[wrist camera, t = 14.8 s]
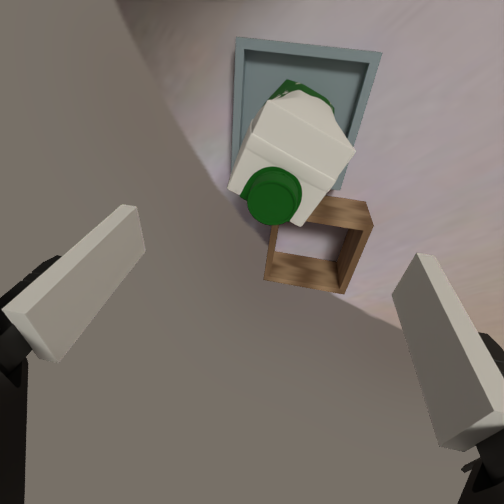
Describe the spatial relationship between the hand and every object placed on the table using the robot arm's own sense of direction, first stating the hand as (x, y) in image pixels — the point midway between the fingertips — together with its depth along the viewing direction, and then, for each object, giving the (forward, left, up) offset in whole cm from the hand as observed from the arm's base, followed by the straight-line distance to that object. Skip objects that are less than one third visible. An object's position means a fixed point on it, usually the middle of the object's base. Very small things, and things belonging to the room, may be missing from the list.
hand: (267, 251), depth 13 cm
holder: (+6, -17, -30) cm, 35 cm away
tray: (0, 0, -30) cm, 30 cm away
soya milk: (0, 0, -29) cm, 29 cm away
